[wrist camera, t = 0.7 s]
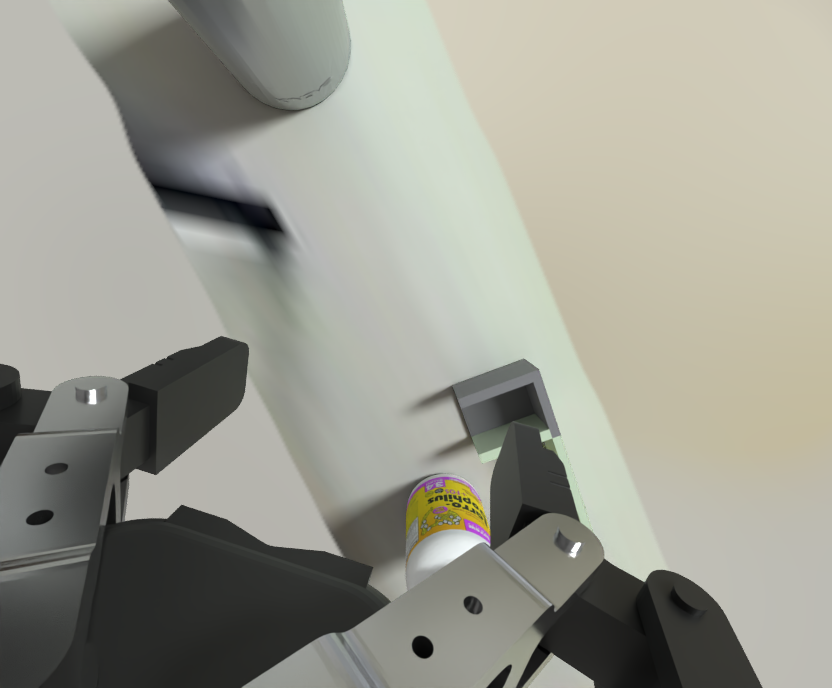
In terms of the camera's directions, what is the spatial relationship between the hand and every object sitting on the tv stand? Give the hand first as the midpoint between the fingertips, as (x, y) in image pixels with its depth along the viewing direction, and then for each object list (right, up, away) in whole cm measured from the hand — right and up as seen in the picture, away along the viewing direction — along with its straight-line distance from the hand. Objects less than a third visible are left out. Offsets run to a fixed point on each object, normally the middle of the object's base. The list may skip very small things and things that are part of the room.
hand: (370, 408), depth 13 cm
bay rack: (+11, -10, +25) cm, 29 cm away
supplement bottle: (+4, -12, +26) cm, 29 cm away
